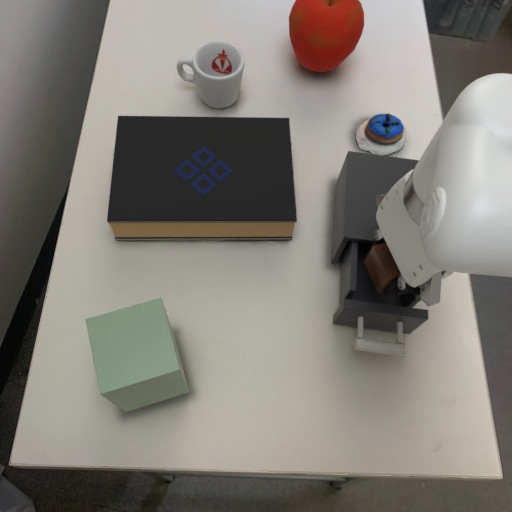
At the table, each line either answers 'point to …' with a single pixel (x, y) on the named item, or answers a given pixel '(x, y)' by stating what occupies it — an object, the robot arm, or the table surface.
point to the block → (381, 266)
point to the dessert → (381, 134)
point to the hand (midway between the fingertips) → (387, 271)
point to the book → (202, 179)
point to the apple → (325, 31)
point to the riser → (136, 356)
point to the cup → (215, 72)
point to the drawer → (373, 305)
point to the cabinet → (362, 196)
